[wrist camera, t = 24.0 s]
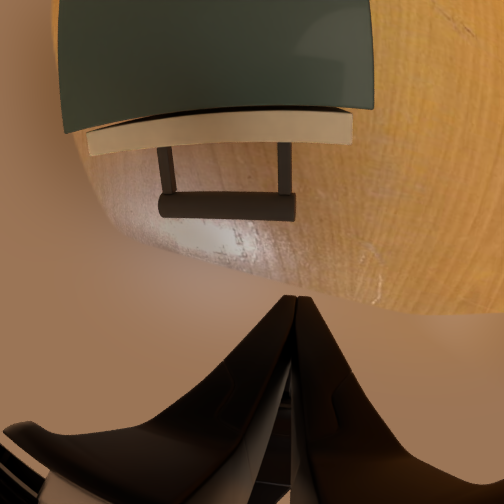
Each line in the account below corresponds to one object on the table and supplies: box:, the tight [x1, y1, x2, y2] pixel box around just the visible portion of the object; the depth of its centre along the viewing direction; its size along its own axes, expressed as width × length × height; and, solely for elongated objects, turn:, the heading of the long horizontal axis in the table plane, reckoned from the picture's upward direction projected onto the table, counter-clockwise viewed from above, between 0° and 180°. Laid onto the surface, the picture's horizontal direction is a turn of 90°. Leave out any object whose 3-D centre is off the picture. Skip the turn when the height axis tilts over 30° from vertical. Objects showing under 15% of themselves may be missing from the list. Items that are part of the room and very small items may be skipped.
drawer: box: [86, 105, 353, 222], centre depth 12 cm, size 18×11×7 cm, turn 3°
